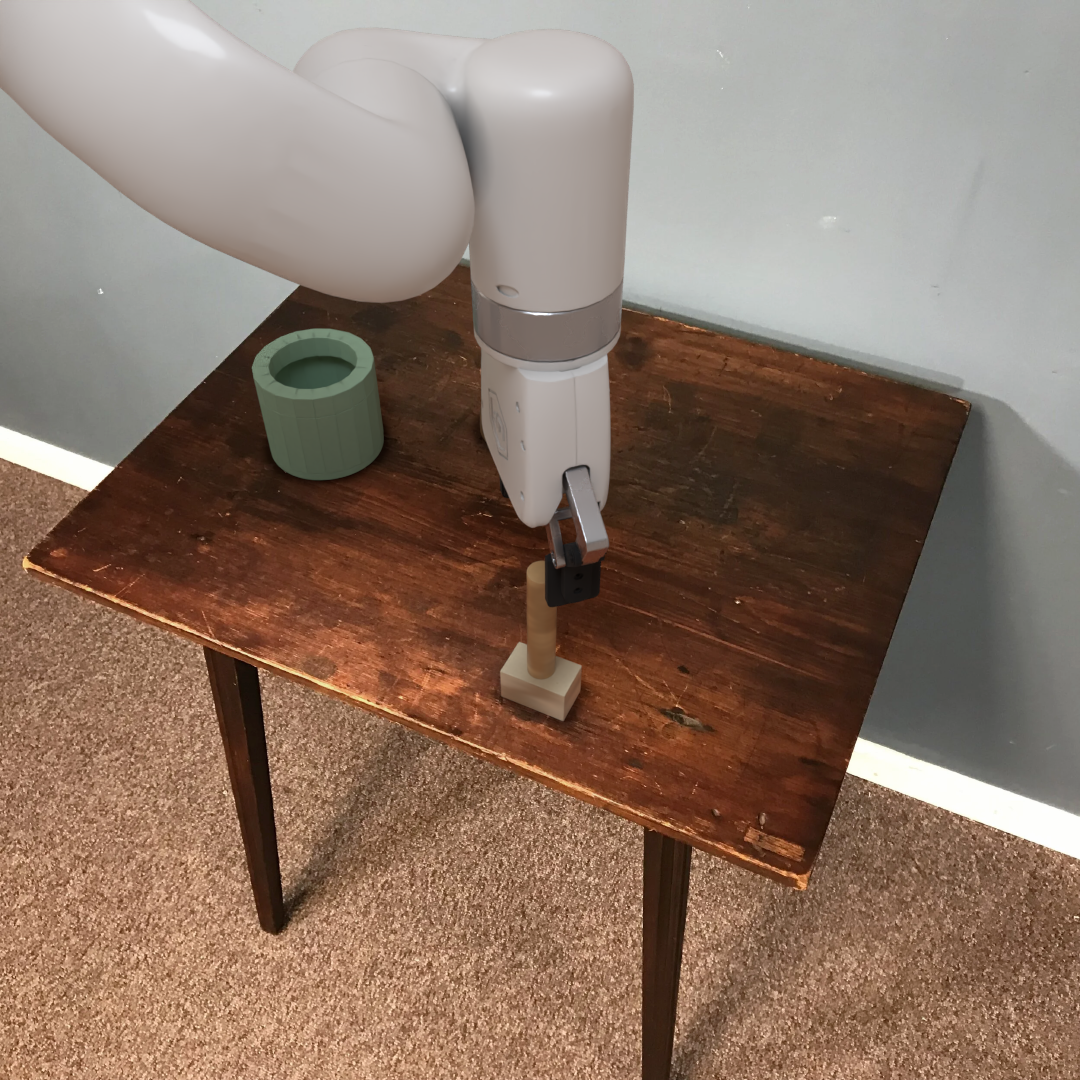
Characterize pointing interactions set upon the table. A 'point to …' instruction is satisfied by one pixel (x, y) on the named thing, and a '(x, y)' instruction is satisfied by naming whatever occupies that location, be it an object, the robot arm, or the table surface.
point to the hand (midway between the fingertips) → (547, 542)
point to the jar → (319, 403)
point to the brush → (540, 658)
